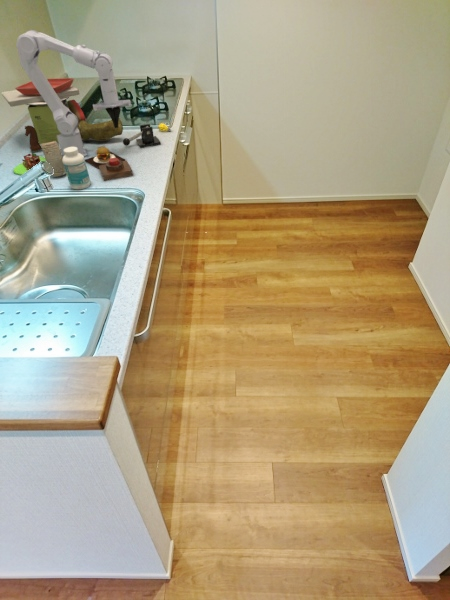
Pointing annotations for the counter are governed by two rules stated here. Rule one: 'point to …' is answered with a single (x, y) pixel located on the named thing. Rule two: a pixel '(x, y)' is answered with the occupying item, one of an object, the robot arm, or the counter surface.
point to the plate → (44, 102)
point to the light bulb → (163, 127)
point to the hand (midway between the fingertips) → (116, 127)
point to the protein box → (44, 123)
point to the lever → (132, 138)
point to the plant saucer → (55, 83)
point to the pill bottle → (76, 168)
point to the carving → (54, 157)
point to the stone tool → (99, 130)
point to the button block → (115, 170)
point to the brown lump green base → (28, 163)
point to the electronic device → (34, 96)
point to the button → (113, 161)
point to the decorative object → (76, 110)
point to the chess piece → (33, 138)
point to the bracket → (147, 137)
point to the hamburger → (102, 157)
